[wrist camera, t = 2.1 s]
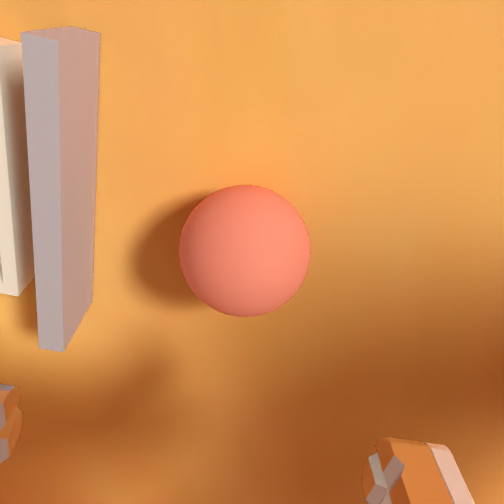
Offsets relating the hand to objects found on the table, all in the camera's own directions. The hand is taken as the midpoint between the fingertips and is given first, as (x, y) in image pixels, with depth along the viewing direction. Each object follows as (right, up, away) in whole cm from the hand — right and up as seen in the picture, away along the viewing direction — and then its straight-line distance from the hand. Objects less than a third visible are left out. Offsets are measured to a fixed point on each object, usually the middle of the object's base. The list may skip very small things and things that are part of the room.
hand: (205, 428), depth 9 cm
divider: (-6, +7, +8) cm, 12 cm away
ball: (+1, +4, +7) cm, 8 cm away
